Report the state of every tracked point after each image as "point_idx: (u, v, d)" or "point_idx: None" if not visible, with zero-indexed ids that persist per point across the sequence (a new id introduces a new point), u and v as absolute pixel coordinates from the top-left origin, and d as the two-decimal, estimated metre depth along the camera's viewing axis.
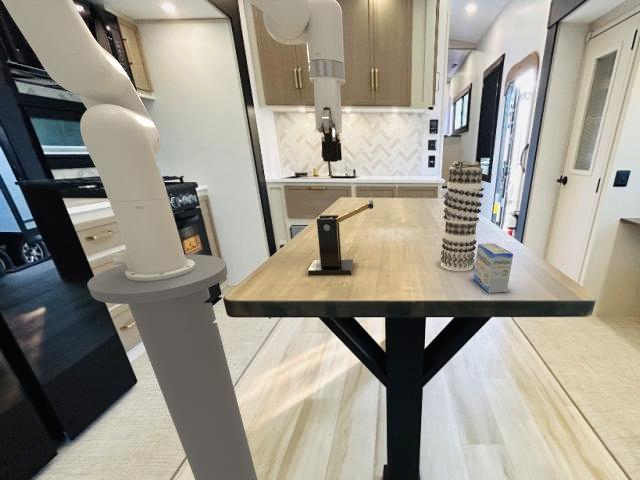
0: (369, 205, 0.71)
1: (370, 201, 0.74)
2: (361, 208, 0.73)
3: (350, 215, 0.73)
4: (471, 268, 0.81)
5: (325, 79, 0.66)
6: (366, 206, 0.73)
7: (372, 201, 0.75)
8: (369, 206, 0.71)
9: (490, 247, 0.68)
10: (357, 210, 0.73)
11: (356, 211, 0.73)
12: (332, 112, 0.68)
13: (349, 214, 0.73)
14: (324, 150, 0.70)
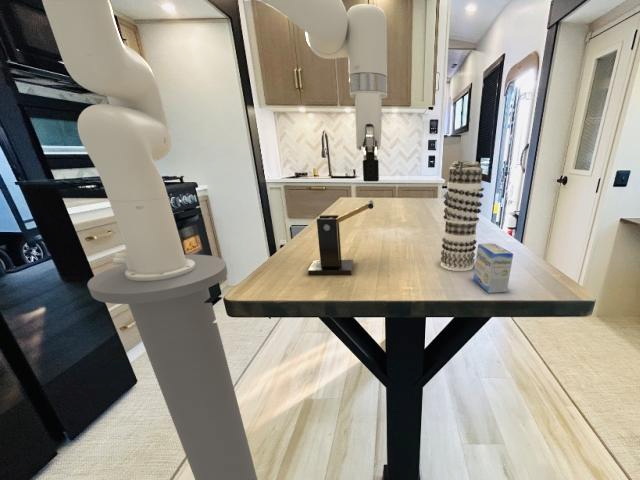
0: (369, 205, 0.71)
1: (370, 201, 0.74)
2: (361, 208, 0.73)
3: (350, 215, 0.73)
4: (471, 268, 0.81)
5: (368, 94, 0.61)
6: (366, 206, 0.73)
7: (372, 201, 0.75)
8: (369, 206, 0.71)
9: (490, 247, 0.68)
10: (357, 210, 0.73)
11: (356, 211, 0.73)
12: (375, 129, 0.63)
13: (349, 214, 0.73)
14: (365, 169, 0.65)
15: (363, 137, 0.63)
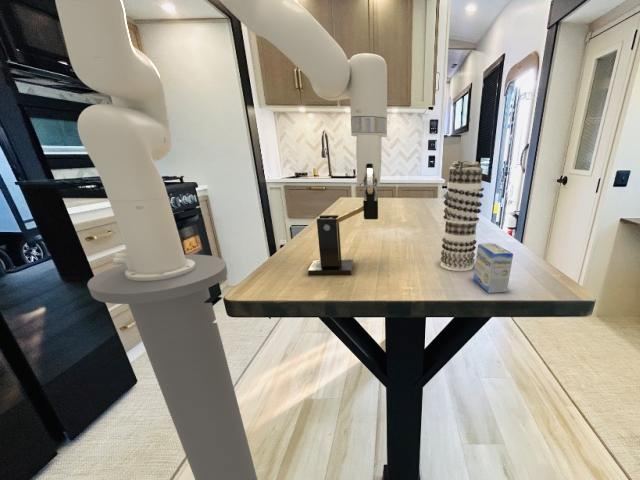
0: None
1: None
2: (361, 208, 0.73)
3: (350, 215, 0.73)
4: (471, 268, 0.81)
5: (369, 136, 0.64)
6: None
7: None
8: None
9: (490, 247, 0.68)
10: (357, 210, 0.73)
11: (356, 211, 0.73)
12: (375, 168, 0.66)
13: (349, 214, 0.73)
14: (365, 209, 0.71)
15: (363, 175, 0.66)
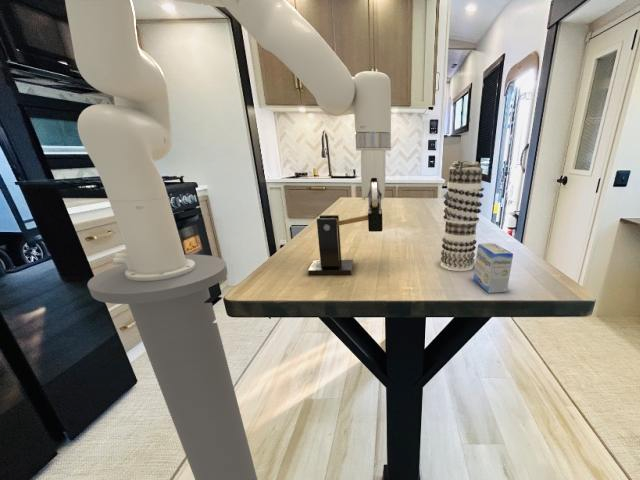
0: None
1: None
2: (364, 217, 0.74)
3: (352, 221, 0.74)
4: (471, 268, 0.81)
5: (373, 151, 0.65)
6: None
7: None
8: None
9: (490, 247, 0.68)
10: (360, 218, 0.74)
11: (359, 219, 0.74)
12: (379, 182, 0.67)
13: (351, 220, 0.74)
14: (370, 221, 0.72)
15: (368, 189, 0.67)
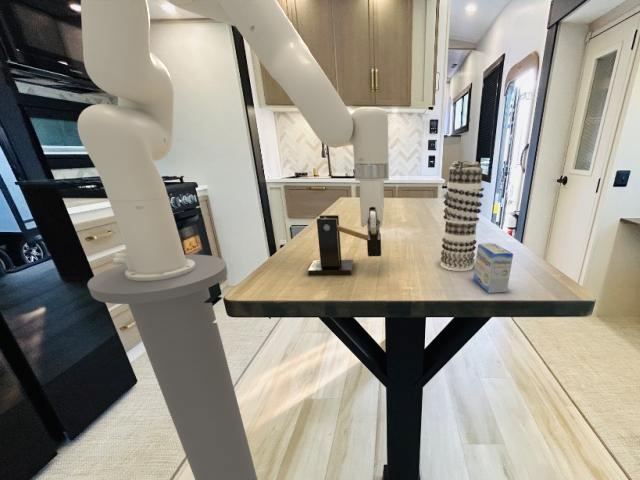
0: None
1: None
2: (364, 236, 0.76)
3: (351, 234, 0.75)
4: (471, 268, 0.81)
5: (372, 182, 0.67)
6: None
7: None
8: None
9: (490, 247, 0.68)
10: (360, 235, 0.76)
11: (358, 235, 0.76)
12: (378, 211, 0.69)
13: (351, 232, 0.75)
14: (369, 247, 0.74)
15: (367, 218, 0.70)
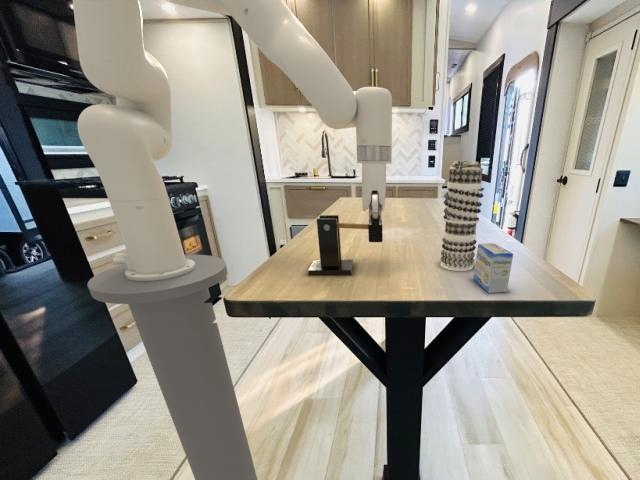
0: None
1: None
2: (365, 226, 0.75)
3: (353, 227, 0.75)
4: (471, 268, 0.81)
5: (374, 164, 0.66)
6: None
7: None
8: None
9: (490, 247, 0.68)
10: (361, 226, 0.75)
11: (360, 226, 0.75)
12: (380, 195, 0.68)
13: (352, 225, 0.75)
14: (370, 232, 0.73)
15: (369, 202, 0.68)
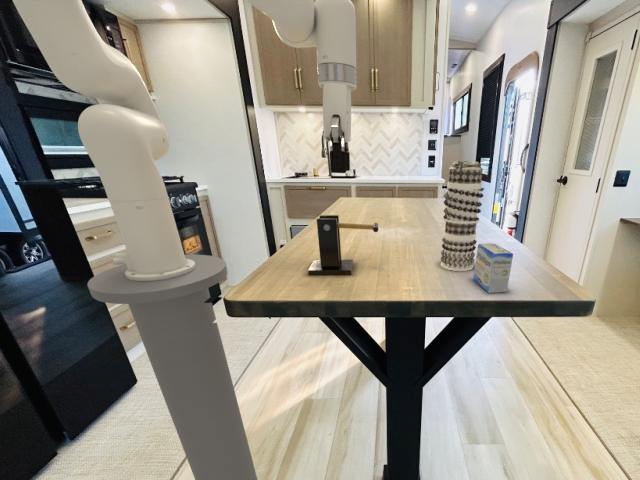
0: (374, 228, 0.73)
1: (376, 224, 0.76)
2: (365, 226, 0.75)
3: (353, 227, 0.75)
4: (471, 268, 0.81)
5: (335, 84, 0.60)
6: (371, 227, 0.75)
7: (377, 224, 0.77)
8: (374, 229, 0.73)
9: (490, 247, 0.68)
10: (361, 226, 0.75)
11: (360, 226, 0.75)
12: (342, 120, 0.62)
13: (352, 226, 0.75)
14: (332, 160, 0.65)
15: (330, 128, 0.63)
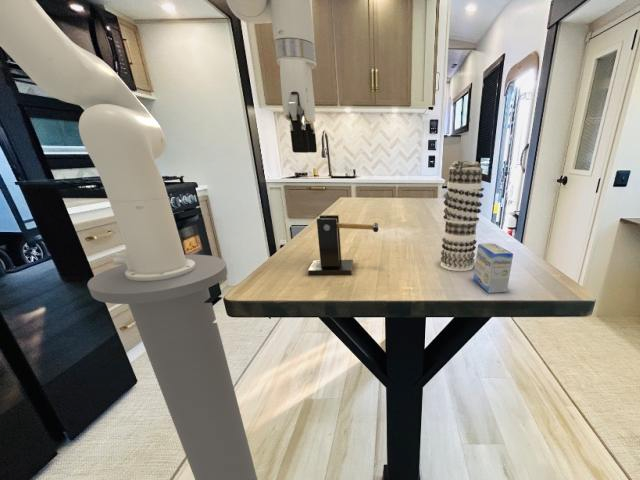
0: (374, 228, 0.73)
1: (376, 224, 0.76)
2: (365, 226, 0.75)
3: (353, 227, 0.75)
4: (471, 268, 0.81)
5: (292, 60, 0.59)
6: (371, 227, 0.75)
7: (377, 224, 0.77)
8: (374, 229, 0.73)
9: (490, 247, 0.68)
10: (361, 226, 0.75)
11: (360, 226, 0.75)
12: (301, 97, 0.61)
13: (352, 226, 0.75)
14: (293, 140, 0.64)
15: (289, 105, 0.62)
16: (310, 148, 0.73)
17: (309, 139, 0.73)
